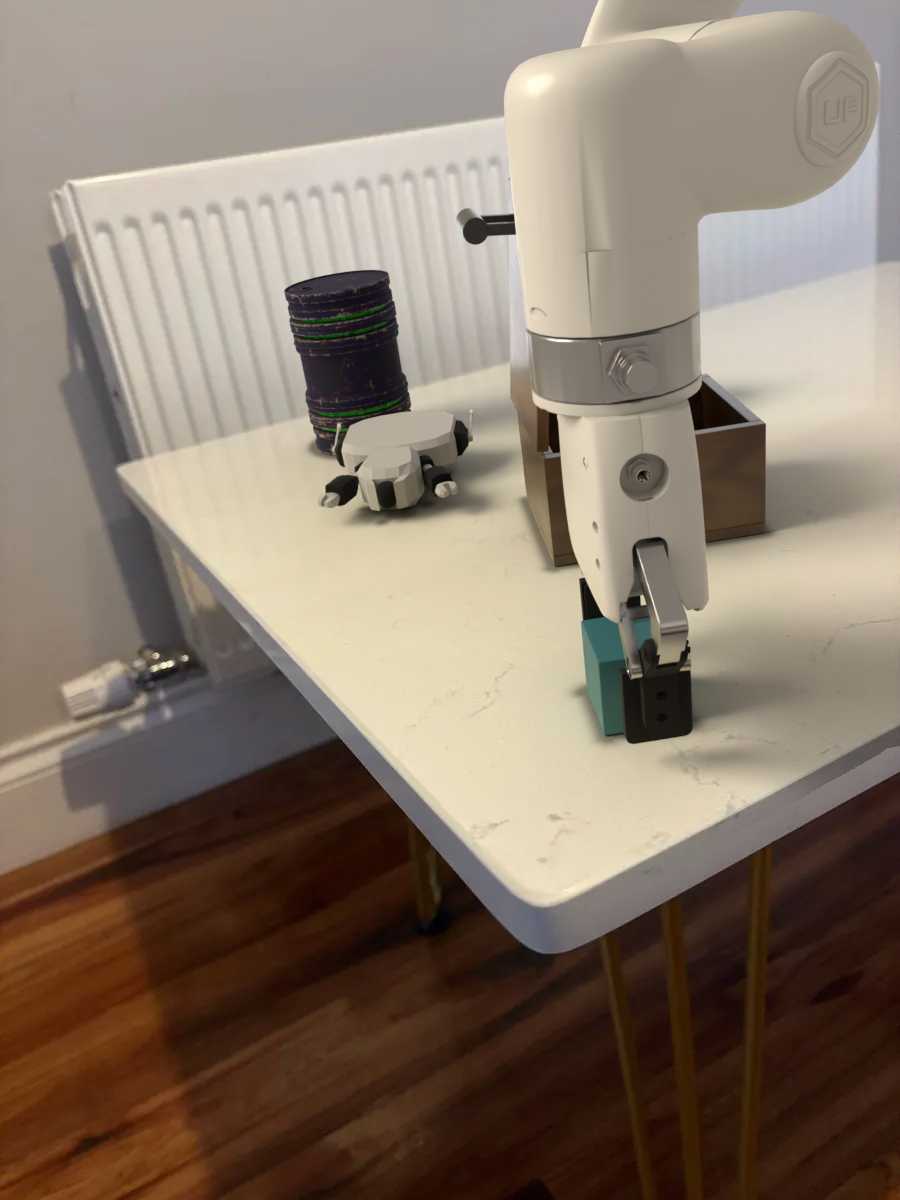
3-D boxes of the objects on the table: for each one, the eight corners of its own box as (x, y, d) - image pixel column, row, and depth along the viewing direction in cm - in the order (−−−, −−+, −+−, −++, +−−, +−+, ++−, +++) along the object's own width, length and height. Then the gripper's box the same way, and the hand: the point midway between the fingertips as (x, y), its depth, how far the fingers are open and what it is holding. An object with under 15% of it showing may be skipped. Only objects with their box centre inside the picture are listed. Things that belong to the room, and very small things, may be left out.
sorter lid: (519, 177, 70) (449, 180, 70) (550, 196, 59) (467, 200, 59) (520, 397, 77) (457, 401, 77) (548, 452, 66) (474, 456, 66)
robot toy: (468, 525, 80) (479, 446, 92) (460, 473, 77) (472, 399, 90) (316, 539, 82) (347, 459, 94) (303, 488, 79) (337, 413, 92)
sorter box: (709, 469, 81) (706, 373, 77) (765, 532, 70) (766, 423, 66) (526, 499, 81) (516, 403, 77) (554, 567, 70) (543, 459, 66)
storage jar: (400, 414, 105) (376, 264, 98) (428, 440, 97) (403, 278, 90) (306, 436, 103) (274, 285, 96) (326, 464, 95) (292, 301, 88)
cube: (666, 677, 56) (662, 607, 54) (689, 722, 52) (686, 648, 50) (586, 690, 56) (580, 620, 54) (604, 736, 52) (597, 662, 50)
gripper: (766, 400, 38) (763, 772, 46) (647, 306, 53) (661, 597, 61) (565, 431, 38) (597, 799, 46) (505, 329, 53) (536, 617, 61)
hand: (634, 683), depth 53 cm, fingers open, 9 cm apart
